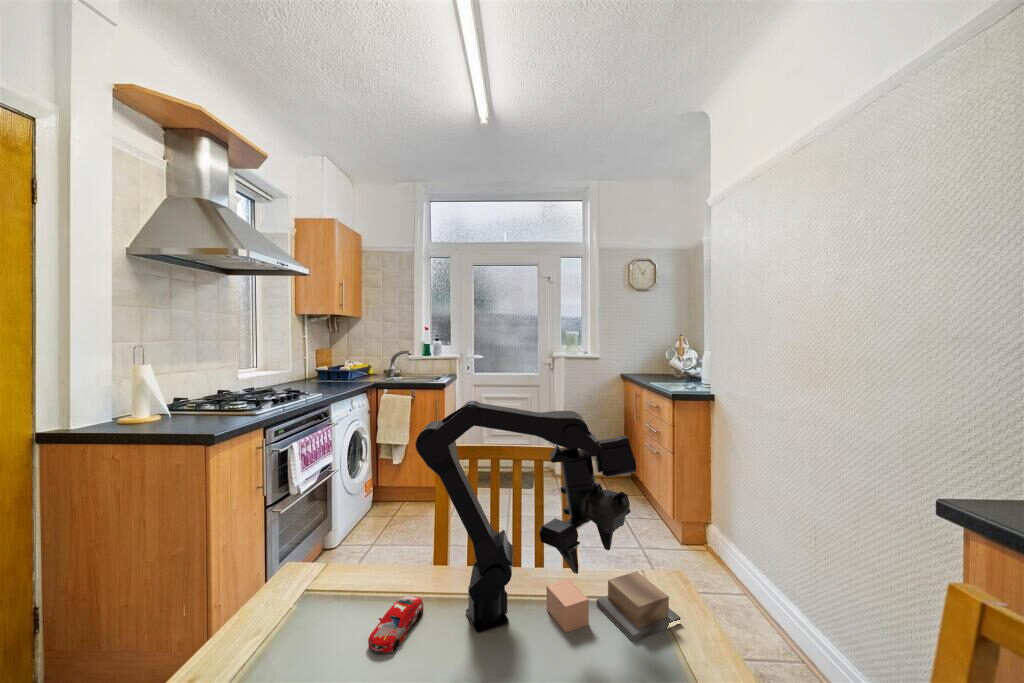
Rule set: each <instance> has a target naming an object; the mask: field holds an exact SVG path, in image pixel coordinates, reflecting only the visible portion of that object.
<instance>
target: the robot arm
mask: <svg viewBox="0 0 1024 683" xmlns="http://www.w3.org/2000/svg"><path fill="white" fill-rule="evenodd" d="M473 427H481V428H487V429H491V430H492V429H493V430H498V431H504V432H511V433H517V434H521V435H522V434H523V435H529V436H534V437H538V438H541V439H542V440H545V441H547V442H549V443H551V444H554V445H555V447H554V449H553V450H552V451H551V452H550V454H549V459H550V460H549V461H550V462H551V463H553V464H554V463H560V465H561V471H562V472H561V473H562V477H563V478H562V479H563V484H564V485H562V486H561V487H560V493H561V494H565V496H566V503H567V506H566V507H564V508H563V513H564V514H565V515H568V516H569V517H570V518H569V519H568V520H566V521H564V520H561V519H558V518H553V519H551V520H550V521H548V522H546V523H545V524H543V525H542V526H541V527H540V528H539V539H540V542H542V544H543V543H544V544H546V545H547V546H551V547H552V548H555V549H556V550H557V551H558V552H559V554H560V555H561V557H562V558H563V560H564V561H565V563H566V564H567V566H568V567H569V569H570V570H571V572H572V573H573V574H576V575H577V574H579V562H578V553H577V548H578V547H579V545H580V544H581V542H580V541H578V539H579V532H578V530H579V529H580V528H582V527H583V526H584V525H586V524H588V523H590V522H593V523H594V524H595V525H596V527H597V532H598V535H599V537H600V541H601V544H602V546H603V548H604V550H605V551H610V550H611V546H612V541H613V535H614V532H616V530H618V529H619V528H621V527H623V526H624V524H625V520H626V516H627V515H629V514H630V513H631V512H632V510H631V509H630V505H631V504H630V499H629V496H628V494H627V493H625V492H624V491H620V492H617V491H612V490H608V489H605V488H604V489H603V487H602V485H601V484H602V483H598V482H596V477H595V472H594V466H593V465H595V468H596V471H597V473H601V475H602V476H603V477H604V478H610V477H615V476H616V477H617V476H623V475H630V474H636V472H637V462H636V458H635V456H634V453H633V450H632V446H631V444H630V439H629V437H628V436H627V435H626V434H625V435H620V436H616V437H613V438H607V439H600V440H599V439H598V438H597V436H596V435H595V433H592V432H591V431H590V430H589V427H588V424H587V423H586V421H585V419H584V418H583V417H582V415H581V414H580V413H578V412H576V411H573V410H553V411H552V410H551V411H545V412H543V411H542V412H539V411H537V412H536V411H531V410H526V409H525V410H524V409H519V408H512V407H507V406H501V405H493V404H489V403H482V402H479V401H477V400H469V401H467V402H465V404H464V405H463V406H461V407H459V408H458V409H457V410H455V411H453V412H452V413H449V414H448V415H447V416H446V417H444V418H443V419H442V420H434V421H433V420H432V421H430V422H429V423H428V424H426V425H425V426H424V428H423V430H422V431H421V432H420V433H419V434H418V436H417V437H416V439H415V442H414V443H415V449H416V452H417V454H418V456H420V457H421V459H422V461H423V462H424V463H425V465H426V466H427V467H428V468H429V469H430V470H431V471H433V472H434V473H435V474H436V475H437V476H438V477H439V479H440V480H441V483H442V485H443V487H444V489H445V491H446V492H447V494H448V496H449V499H450V501H451V502H452V505H453V506H454V508H455V511H456V513H457V515H458V517H459V519H460V521H461V523H462V526H464V528H465V531H466V533H467V535H468V536H469V539H470V541H471V543H472V546H473V547H472V548H473V551H474V557H475V562H474V563H473V564H472V569H471V570H472V571H471V573H470V574H471V576H470V582H469V585H467V587H468V588H467V589H468V592H467V593H468V598H467V599H468V608H467V609H466V610H465V615H466V616H467V618H468V620H469V622H470V623H471V625H472V628H473V629H474V632H475V633H481V632H485V631H487V630H488V631H489V630H491V629H495V628H497V627H501V626H504V625H507V624H509V622H510V619H509V617H508V616H507V615H506V614H508V592H507V591H506V586H507V585H508V584H509V583H510V581H511V578H512V575H513V565H514V545H513V544H512V543H510V540H509V539H508V536H507V532H506V530H504V529H502V530H500V532H498V531H497V530H495V529H494V528H493V527H492V525H491V523H490V522H489V520H488V518H487V515H486V513H485V512H484V509H483V507H482V505H481V503H480V501H479V499H478V497H477V495H476V493H475V492H474V489H473V488H472V485H471V483H470V481H469V480H468V477H467V475H466V473H465V471H464V469H463V467H462V465H461V463H460V459H459V452H458V448H457V447H458V446H457V443H456V441H457V440H458V439H459V438H460V437H461V436H463V435H464V434H466V432H467V431H469V430H470V429H472V428H473ZM592 457H593V458H592ZM593 459H594V464H593Z"/></svg>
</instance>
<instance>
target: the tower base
mask: <svg viewBox="0 0 1024 683" xmlns="http://www.w3.org/2000/svg"><path fill="white" fill-rule="evenodd" d="M669 598H670V597H669V595H668V594H666V593H665V592H664V591H663V590H661V589H660V588H659V587H657V586H656V585H655V584H654V583H652V581H650V580H649V579H647V578H646V577H645V576H643V574H641V573H640V572H638V571H637V570H636V571H633V572H630V573H627V574H623V575H620V576H617V577H613V578H610V579H607V595H606V596H602V597H599V598H596V606H597V607H598V608H599V609H600V610H601V612H603V614H604V615H606V616H607V617H608V619H610V621H612V622H613V624H615V626H616V627H617V628H618V629H620V631H622V633H623V634H624V635H626V637H627V638H628V639H629V640H630V641H631V642H636V641H638V640H642V639H645V638H647V637H649V636H652V635H655V634H657V633H660V632H663V631H665V630H668V629H667V627H668V625H669V623H671V622H673V621H677V620H680V619H681V620H682V618H681V616H679V615H678V614H677V613H676V612H675V611H673V610H672V609H671V608H670V606H669V605H670V603H669V602H670V601H669V600H670V599H669Z"/></svg>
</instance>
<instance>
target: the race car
mask: <svg viewBox="0 0 1024 683" xmlns="http://www.w3.org/2000/svg"><path fill="white" fill-rule="evenodd" d="M423 614H424V603H423V600H422V599H421V597H420V596H415V595H411V594H410V595H408V594H407V595H404V596H402V597H401V598H400V599H397V601H396V602H394V603H393V605H392V606H391V607H389V609H388V610H387V611H386V612H385V614H384V615H383V617H379V618H378V620H379V623H378V624H377V625H376V627H375V628H374V629H373V631H372V632H371V633H370V635H369V637H368V641H367V642H368V643H367V644H368V649H369V650H370V651H371V652H372V653H374V654H378V655H386V654H390V653H393V652H394V651H395V650H397V649H398V648H399V646H400V644H401V643H402V642H403V641H404V639H405V638H406V637H407V636H408V634H409V633H410V632H411V630H413V628H414V627H415V626H416V624H417V623H418V622H419V620H421V618H422V616H423ZM397 647H398V648H397ZM395 652H396V651H395Z"/></svg>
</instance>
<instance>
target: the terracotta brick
mask: <svg viewBox="0 0 1024 683" xmlns="http://www.w3.org/2000/svg"><path fill="white" fill-rule="evenodd" d="M589 603H590V600H589V597H587V596H586V595H585V594H584V593H583V592H582V591H581V590H580V589H579V587H577V586H576V584H574V583H573V582H572V581H571V579H569V578H568V579H563V580H561V581H557V582H554V583H551V584H548V585H546V610H547V612H548V613H549V614H550V616H551V617H552V619H554V620H555V622H556V623H557V624H558V625H559V627H560V628H561V629H562V630H563V631H564V632H565V634H566V633H568V632H572V631H574V630H576V629H579V628H582V627H585V626H588V625H589V624H590V620H589V619H590V612H589V611H590V609H589V608H590V604H589Z"/></svg>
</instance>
